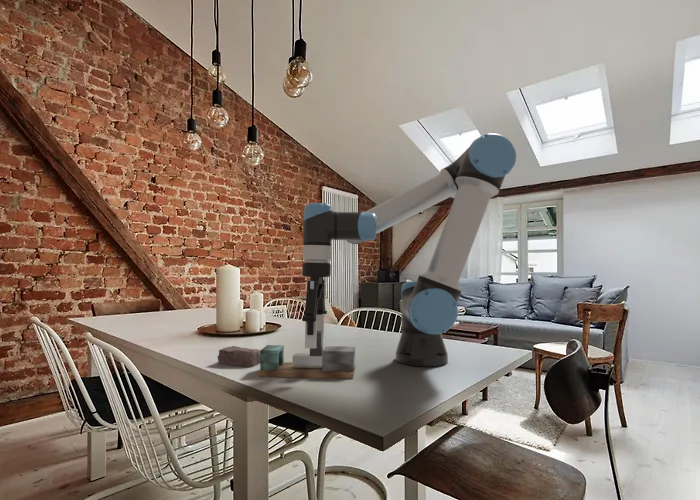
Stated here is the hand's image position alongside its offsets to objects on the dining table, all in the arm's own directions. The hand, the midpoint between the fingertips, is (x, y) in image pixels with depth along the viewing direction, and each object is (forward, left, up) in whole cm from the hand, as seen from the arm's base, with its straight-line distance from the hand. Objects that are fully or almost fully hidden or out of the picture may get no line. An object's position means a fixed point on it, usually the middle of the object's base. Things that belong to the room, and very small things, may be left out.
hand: (314, 342), depth 103 cm
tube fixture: (+2, 0, -8) cm, 8 cm away
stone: (+23, -9, -8) cm, 26 cm away
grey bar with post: (-2, 0, -6) cm, 7 cm away
